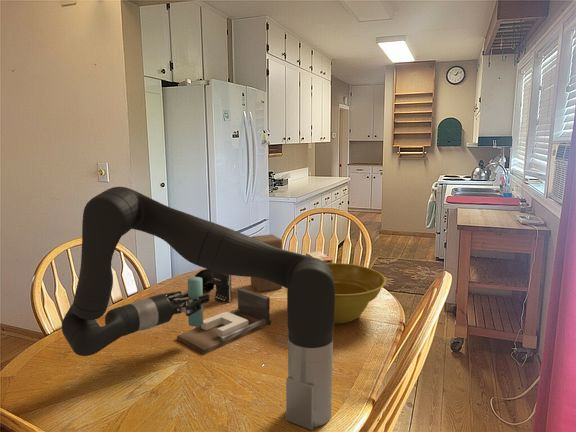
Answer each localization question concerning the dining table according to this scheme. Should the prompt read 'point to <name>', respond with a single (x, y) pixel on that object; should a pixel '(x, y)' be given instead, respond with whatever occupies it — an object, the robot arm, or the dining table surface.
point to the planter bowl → (354, 289)
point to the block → (262, 283)
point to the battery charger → (222, 287)
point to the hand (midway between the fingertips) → (203, 295)
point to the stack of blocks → (320, 256)
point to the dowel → (193, 291)
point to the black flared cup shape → (206, 279)
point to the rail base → (248, 308)
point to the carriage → (225, 323)
